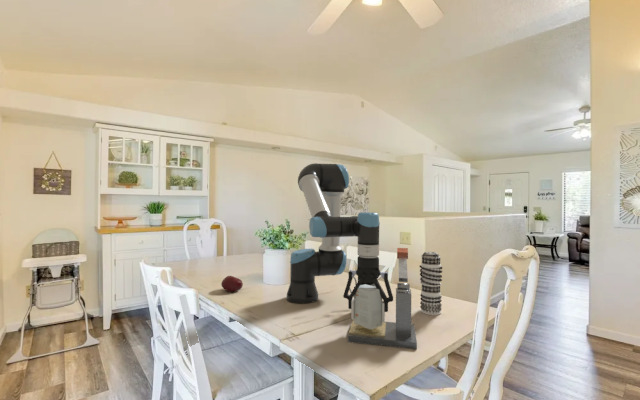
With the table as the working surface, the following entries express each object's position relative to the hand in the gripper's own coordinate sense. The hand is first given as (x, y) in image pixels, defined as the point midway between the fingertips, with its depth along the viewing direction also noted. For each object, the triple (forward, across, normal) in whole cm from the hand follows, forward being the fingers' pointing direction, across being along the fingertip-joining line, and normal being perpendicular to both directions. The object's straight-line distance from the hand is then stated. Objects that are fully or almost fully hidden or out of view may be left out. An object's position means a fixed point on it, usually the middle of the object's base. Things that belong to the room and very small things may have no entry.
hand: (367, 319), depth 114 cm
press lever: (-15, +12, +9) cm, 22 cm away
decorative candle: (+5, +24, +30) cm, 39 cm away
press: (+5, +5, 0) cm, 7 cm away
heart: (+6, -74, +38) cm, 83 cm away
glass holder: (+5, -5, +25) cm, 26 cm away
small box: (+2, 0, 0) cm, 2 cm away
